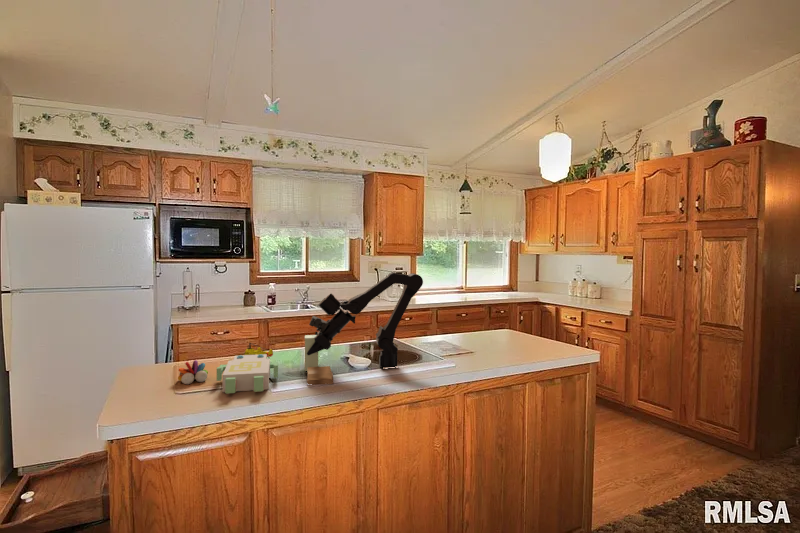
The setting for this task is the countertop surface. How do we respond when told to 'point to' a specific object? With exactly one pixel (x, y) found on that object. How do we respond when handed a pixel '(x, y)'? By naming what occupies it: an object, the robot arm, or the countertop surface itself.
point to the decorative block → (246, 373)
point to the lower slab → (320, 381)
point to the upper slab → (319, 373)
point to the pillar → (313, 358)
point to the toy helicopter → (257, 351)
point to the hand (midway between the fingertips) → (307, 352)
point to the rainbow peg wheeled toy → (193, 373)
